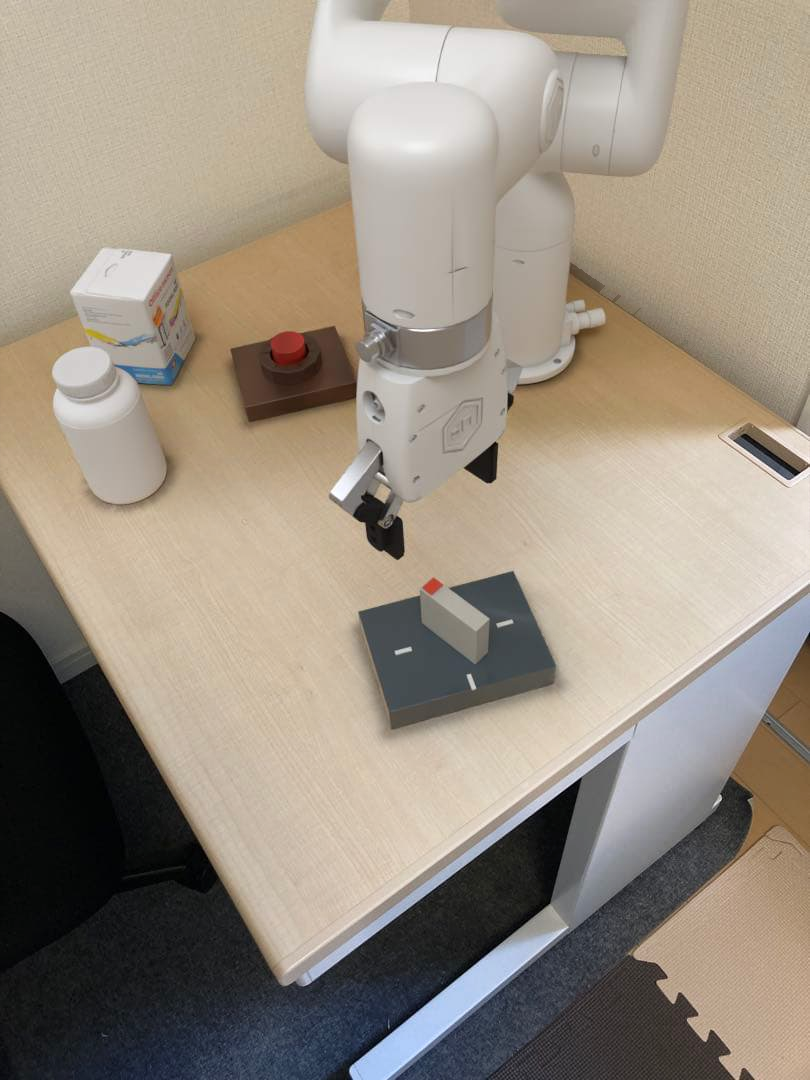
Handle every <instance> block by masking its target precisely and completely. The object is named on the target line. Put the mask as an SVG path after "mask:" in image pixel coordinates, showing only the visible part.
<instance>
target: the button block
mask: <svg viewBox="0 0 810 1080" xmlns="http://www.w3.org/2000/svg"><path fill="white" fill-rule="evenodd" d="M298 333H299V334H301V335H302V336H303V337H304V341H305V347H306V357H305V359H303V360H302V361H300V362H299V363H296V364H291V365H282V364H278V363H277V362H276V361H275V360H274V358H273V354H272V349H271V340H272V339H273V337H275V336H276V335H274V336H272V337H270V338H269V339H267V340H263V341H258V342H253V343H249V344H244V345H240V346H236V347H235V346H234V347H230V353H231V357H232V362H233V365H234V370H235V373H236V374H235V375H236V377H237V381H238V386H239V389H240V393H241V398H242V401H243V405H244V409H245V412H246V416H247V421H248V422H249V423H251V422H256V421H260V420H264V419H269V418H273V417H277V416H282V415H287V414H290V413H295V412H298V411H304V410H308V409H313V408H316V407H320V406H325V405H330V404H335V403H339V402H343V401H347V400H352V399H356V397H357V381H356V378H355V375H354V373H353V370H352V368H351V365H350V362H349V359H348V356H347V354H346V352H345V349H344V346H343V344H342V341H341V338H340V335H339V333H338V330H337V328H336V326H335V325H332V326H327V327H323V328H319V329H318V328H317V329H314V330H308V331H305V332H298Z"/></svg>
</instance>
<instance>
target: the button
mask: <svg viewBox="0 0 810 1080" xmlns="http://www.w3.org/2000/svg"><path fill="white" fill-rule="evenodd" d="M299 333H300V332H297V331H293V330H292V331H291V330H289V331H282V332H280V333H277V334H276V335H274V336H275V337H274V336H272V337H273V339H272V340H271V349H272V354H273V358H274V360H275V361H276V362H277V363H278V364H282V365H291V364H296V363H299V362H300V361H302V360H303V359H305V357H306V347H305V341H304V337H303V336H302V335H301V334H299Z"/></svg>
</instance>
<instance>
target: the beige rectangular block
mask: <svg viewBox="0 0 810 1080" xmlns="http://www.w3.org/2000/svg"><path fill="white" fill-rule="evenodd" d="M449 588H450V587H448V586H446V585H445V584H444V583H442V582H441V581H440V580H439V579H437V578H436V577H434V576H432V577H431V578H430V579H429V580H428V581H426V582H425V583H424V584H423V585H422V586H420V588H419V595H420V602H421V619H422V623H423V624H424V625H425V626H426V627H428V628H429V629H430V630H432V631H433V632H434V633H435V634H437V635H438V636H439V637H441V638H442V639H443V640H444V641H446V642H447V643H448V644H450V645H451V646H452V647H453V648H455V649H456V650H457V651H458V652H460V653H461V654H462V655H464V656H465V657H466V658H467V659H469V660H470V661H471V662H473V663H474V664H477V663H478V662H479V661H480V660H481V659H482V658H483V657H484V656H485V655H486V654H487V653H488V643H489V621H490V619H489V618H488V617H487V616H485V615H484V614H483V613H481V612H480V611H479V610H477V609H476V608H475V607H473V606H472V605H470V604H469V603H468V602H466V601H465V600H464V599H462V598H461V597H460V596H458V595H457V594H456V593H454V592H453V591H452V590H450V589H449Z"/></svg>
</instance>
